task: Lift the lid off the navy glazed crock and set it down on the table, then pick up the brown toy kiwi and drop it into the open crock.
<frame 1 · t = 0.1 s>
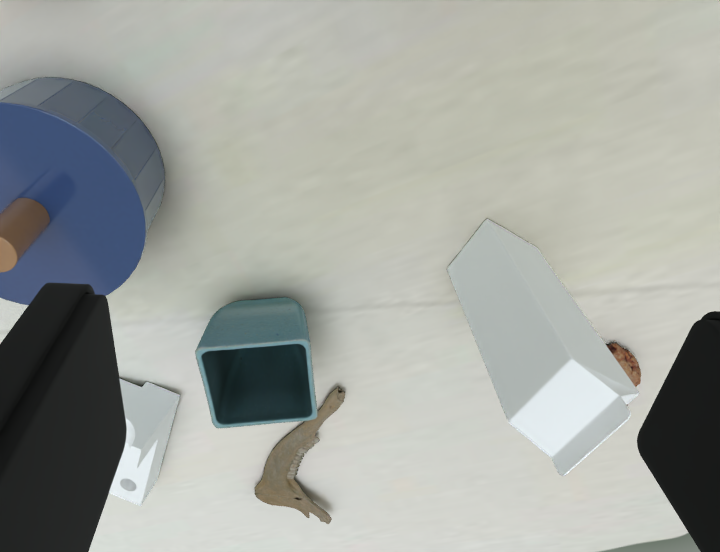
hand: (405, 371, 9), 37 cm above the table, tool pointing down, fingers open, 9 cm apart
cookie: (588, 377, 61), on the table
bracket: (127, 423, 59), on the table
crock: (74, 167, 44), on the table
flower pot: (266, 319, 54), on the table
lid: (32, 211, 38), point 8 cm above the table, touching crock
jawbone: (326, 452, 64), on the table
milk: (490, 256, 52), on the table
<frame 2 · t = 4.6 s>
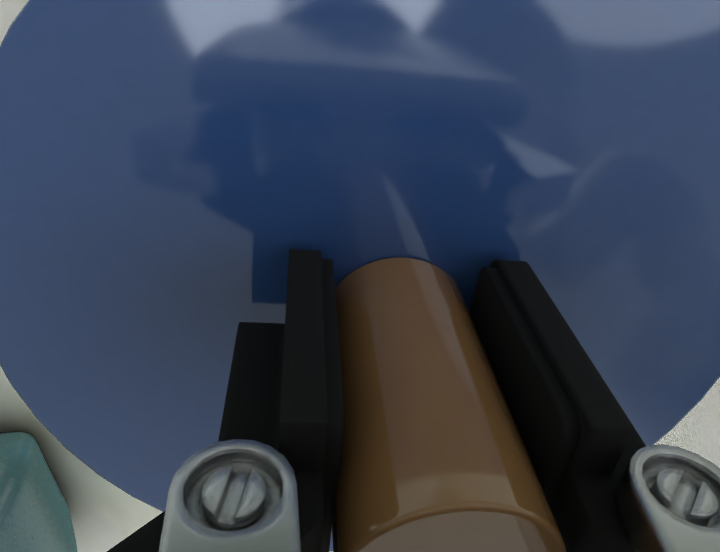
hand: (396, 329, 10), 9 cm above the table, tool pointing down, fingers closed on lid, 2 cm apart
lid: (390, 298, 11), point 8 cm above the table, touching crock, gripper
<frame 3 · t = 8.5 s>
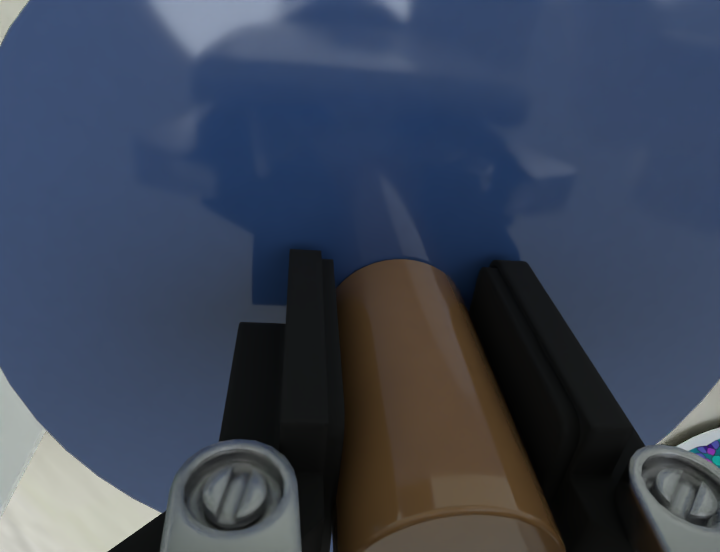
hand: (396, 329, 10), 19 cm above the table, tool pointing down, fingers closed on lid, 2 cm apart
pudding: (710, 470, 43), on the table
lid: (390, 300, 11), point 18 cm above the table, touching gripper
milk: (13, 373, 33), on the table
when the fingers open (1 cm above the table, at t = 12.4 s): lid stays where it is, point 1 cm above the table.
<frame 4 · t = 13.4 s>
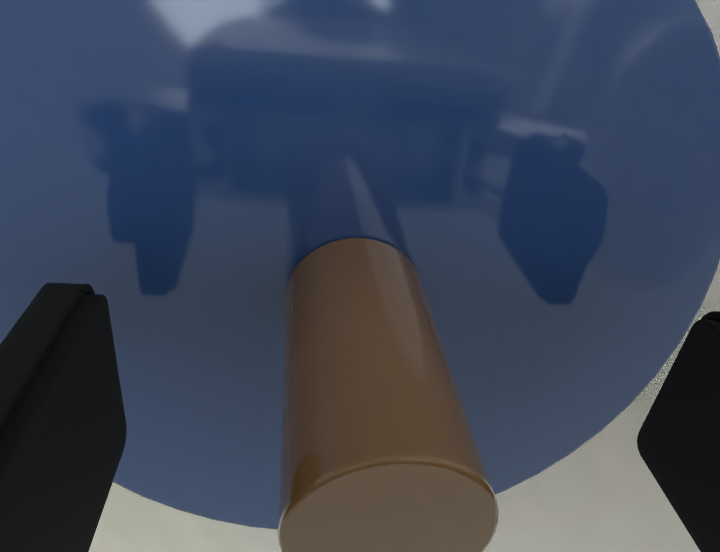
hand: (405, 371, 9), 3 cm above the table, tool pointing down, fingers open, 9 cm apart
lid: (351, 279, 11), point 1 cm above the table
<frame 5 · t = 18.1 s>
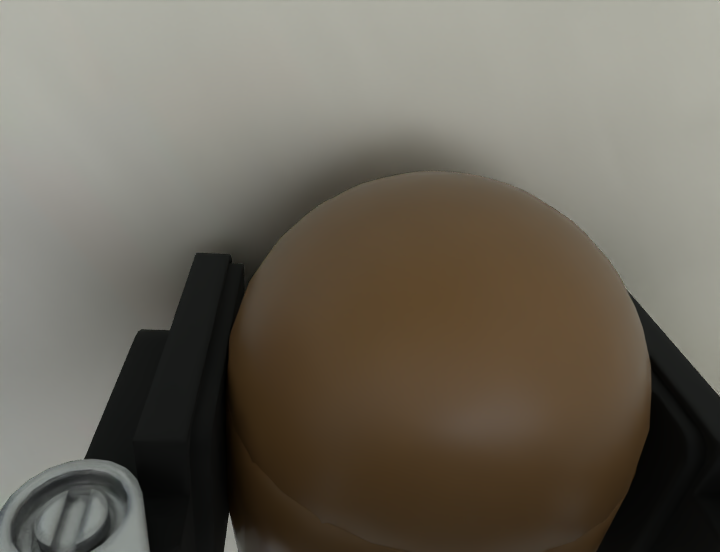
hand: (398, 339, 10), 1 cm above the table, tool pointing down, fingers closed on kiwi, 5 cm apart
kiwi: (393, 316, 11), on the table, touching gripper
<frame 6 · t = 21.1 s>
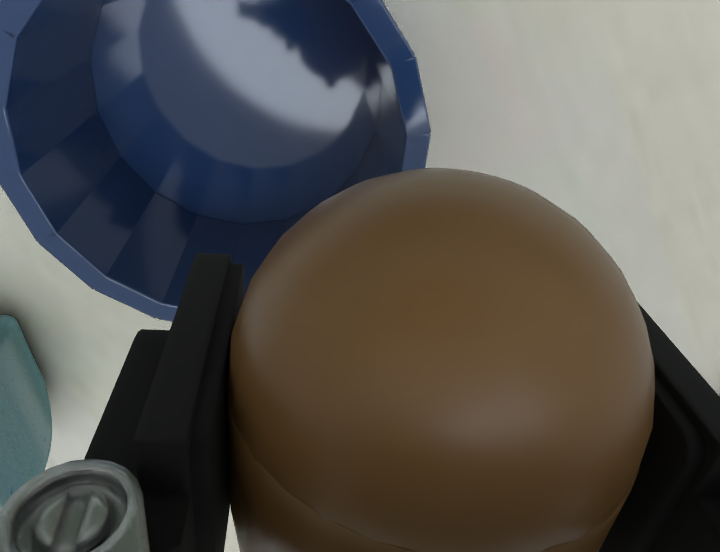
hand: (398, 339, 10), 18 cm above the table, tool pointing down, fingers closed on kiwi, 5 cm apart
crock: (241, 92, 25), on the table
kiwi: (395, 314, 11), point 17 cm above the table, touching gripper
when the fingers open (6 cm above the table, at t = 24.4 s): kiwi drops 5 cm, resting on crock.
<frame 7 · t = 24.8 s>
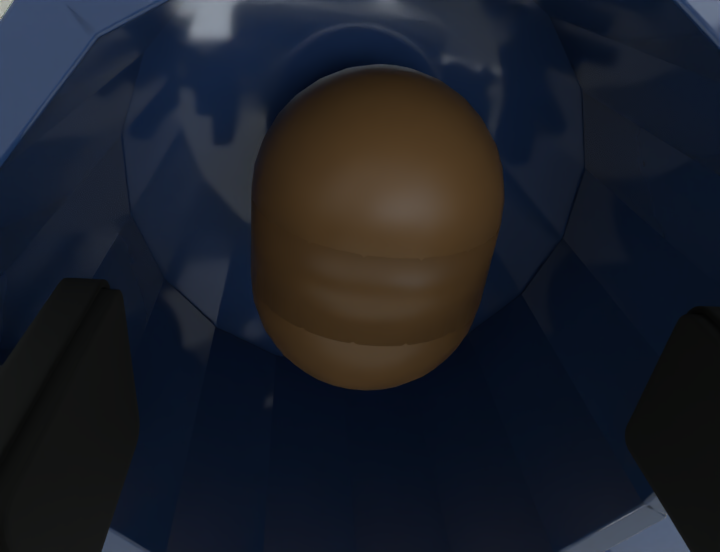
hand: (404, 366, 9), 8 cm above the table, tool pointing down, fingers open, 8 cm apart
crock: (359, 182, 16), on the table
kiwi: (361, 189, 15), resting on crock
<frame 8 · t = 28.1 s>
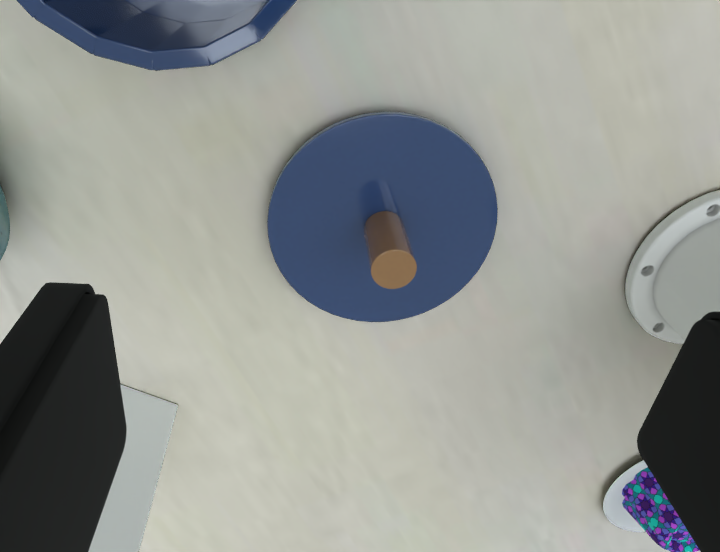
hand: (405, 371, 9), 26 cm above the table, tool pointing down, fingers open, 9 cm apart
pudding: (661, 484, 54), on the table
lid: (382, 225, 37), point 1 cm above the table
milk: (127, 414, 44), on the table
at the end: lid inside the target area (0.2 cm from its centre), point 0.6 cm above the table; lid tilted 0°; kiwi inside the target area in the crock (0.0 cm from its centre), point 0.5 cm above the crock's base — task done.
